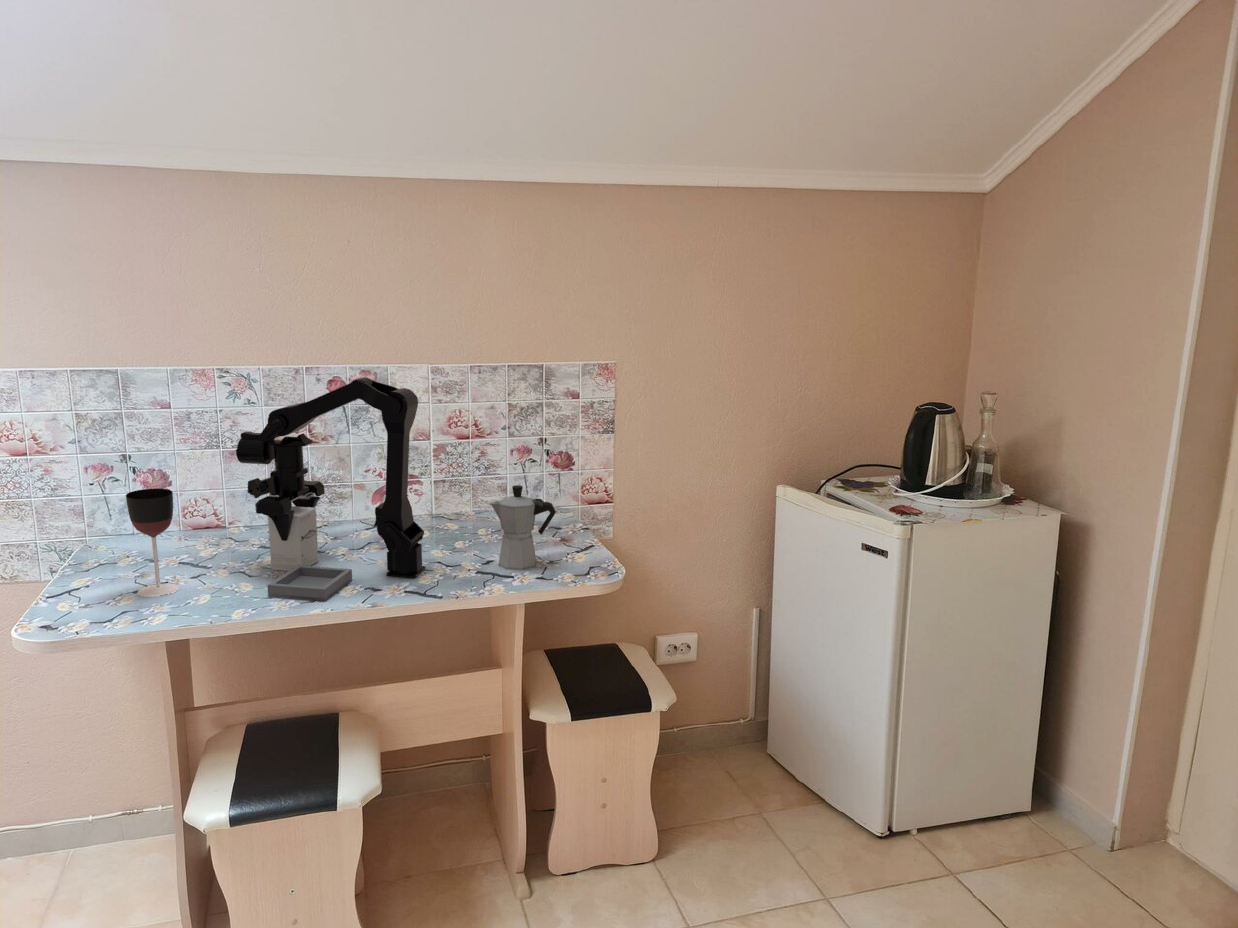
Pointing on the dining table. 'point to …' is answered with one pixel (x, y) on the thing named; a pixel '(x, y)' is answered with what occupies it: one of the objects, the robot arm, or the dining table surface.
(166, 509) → the wineglass
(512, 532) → the coffee maker
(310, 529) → the supplement box
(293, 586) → the tray
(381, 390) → the robot arm
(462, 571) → the dining table surface
